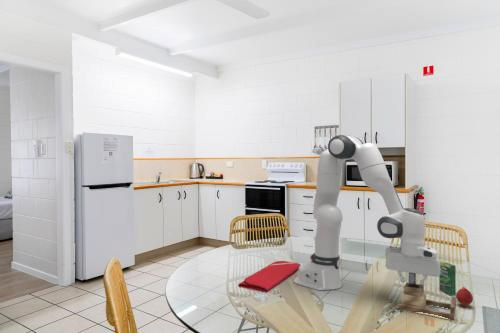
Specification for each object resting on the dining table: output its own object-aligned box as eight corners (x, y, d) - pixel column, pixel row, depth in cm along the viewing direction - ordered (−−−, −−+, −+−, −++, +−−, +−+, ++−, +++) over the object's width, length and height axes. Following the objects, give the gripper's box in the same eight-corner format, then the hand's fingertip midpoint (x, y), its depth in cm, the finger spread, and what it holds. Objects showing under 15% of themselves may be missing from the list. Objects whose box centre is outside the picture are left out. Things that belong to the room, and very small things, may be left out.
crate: (401, 306, 143) (401, 286, 143) (404, 300, 150) (404, 281, 149) (423, 311, 139) (423, 290, 138) (426, 304, 145) (426, 284, 145)
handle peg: (408, 293, 144) (408, 268, 144) (409, 291, 146) (409, 266, 146) (415, 294, 143) (415, 269, 143) (416, 292, 145) (416, 268, 145)
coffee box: (438, 289, 164) (438, 260, 164) (444, 289, 165) (444, 260, 165) (449, 295, 156) (450, 265, 156) (456, 295, 157) (456, 265, 157)
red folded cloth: (237, 287, 167) (237, 279, 167) (275, 265, 203) (275, 259, 203) (267, 293, 159) (267, 285, 159) (301, 269, 195) (301, 263, 195)
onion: (466, 303, 148) (466, 284, 148) (476, 309, 142) (476, 289, 142) (453, 303, 148) (453, 284, 148) (461, 309, 142) (461, 289, 142)
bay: (398, 309, 142) (398, 296, 142) (403, 299, 152) (403, 287, 152) (454, 321, 131) (454, 307, 131) (455, 309, 141) (455, 297, 141)
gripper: (383, 247, 147) (383, 280, 147) (440, 254, 136) (439, 290, 136) (387, 244, 152) (386, 276, 153) (441, 251, 141) (441, 285, 142)
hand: (412, 283), depth 144 cm, fingers open, 6 cm apart
